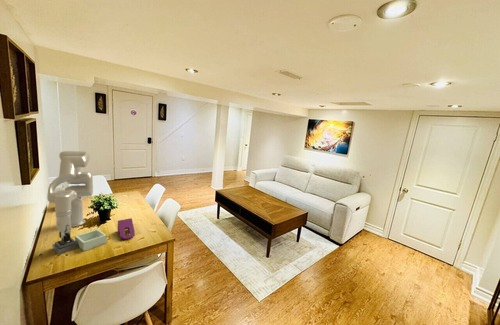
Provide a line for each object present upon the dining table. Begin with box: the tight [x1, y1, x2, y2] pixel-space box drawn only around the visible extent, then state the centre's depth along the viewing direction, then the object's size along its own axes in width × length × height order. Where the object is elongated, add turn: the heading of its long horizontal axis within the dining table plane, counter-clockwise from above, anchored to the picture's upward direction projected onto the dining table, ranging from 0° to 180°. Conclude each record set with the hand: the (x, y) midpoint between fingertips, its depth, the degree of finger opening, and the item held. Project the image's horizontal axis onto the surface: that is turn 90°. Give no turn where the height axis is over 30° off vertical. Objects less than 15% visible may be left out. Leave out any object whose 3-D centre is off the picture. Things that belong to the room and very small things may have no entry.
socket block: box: [51, 236, 79, 255], centre depth 133 cm, size 10×10×4 cm
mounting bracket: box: [117, 217, 135, 241], centre depth 156 cm, size 9×8×18 cm
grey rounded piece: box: [60, 230, 70, 245], centre depth 132 cm, size 5×5×13 cm
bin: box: [74, 228, 108, 252], centre depth 140 cm, size 13×13×6 cm
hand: (65, 238), depth 132 cm, fingers open, 6 cm apart
